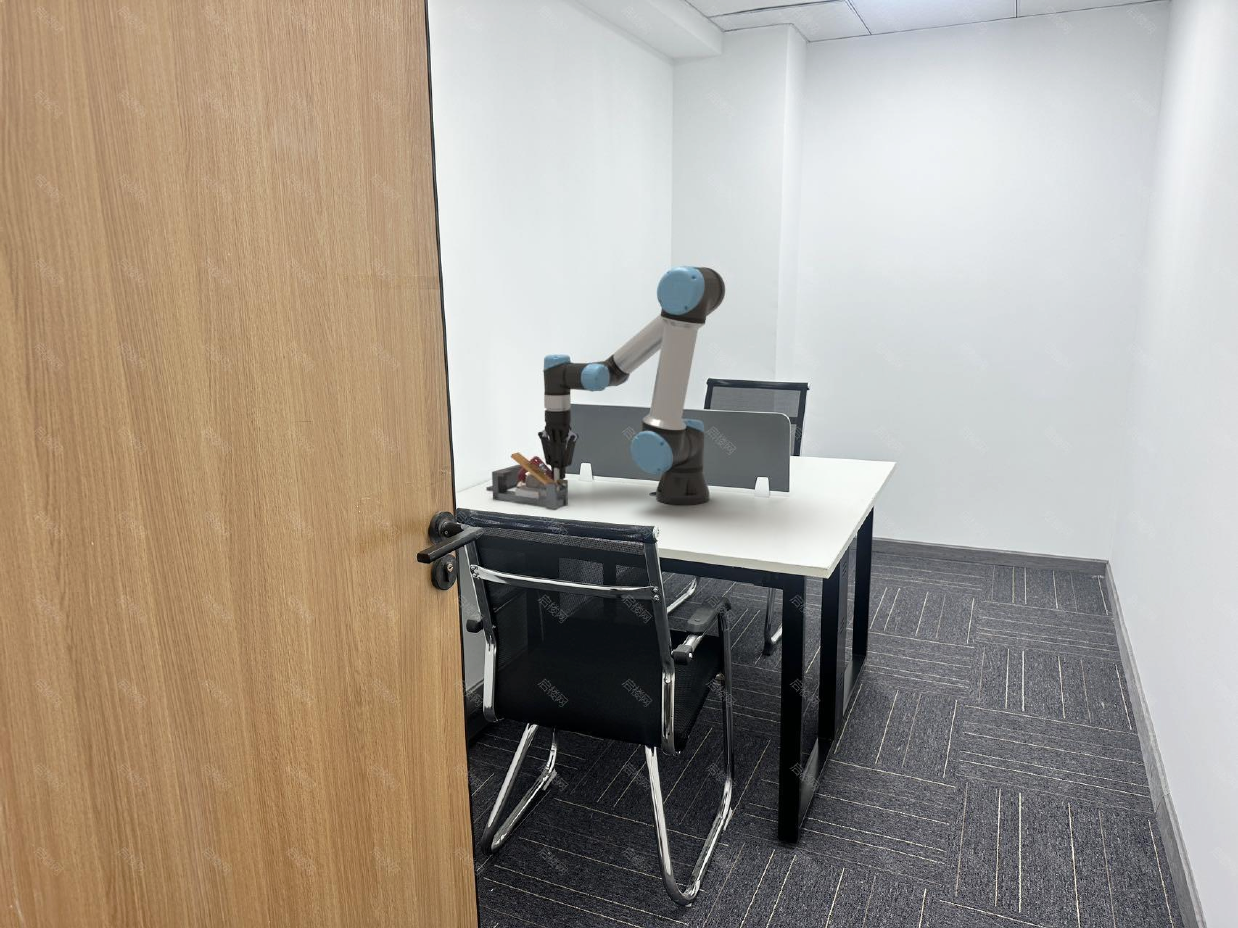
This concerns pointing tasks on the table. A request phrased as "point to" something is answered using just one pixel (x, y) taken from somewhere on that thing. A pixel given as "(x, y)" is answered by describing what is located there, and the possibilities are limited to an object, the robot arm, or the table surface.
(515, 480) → the bracket
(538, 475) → the tan wooden flat bar
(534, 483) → the brake caliper
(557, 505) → the clip base
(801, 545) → the table surface
